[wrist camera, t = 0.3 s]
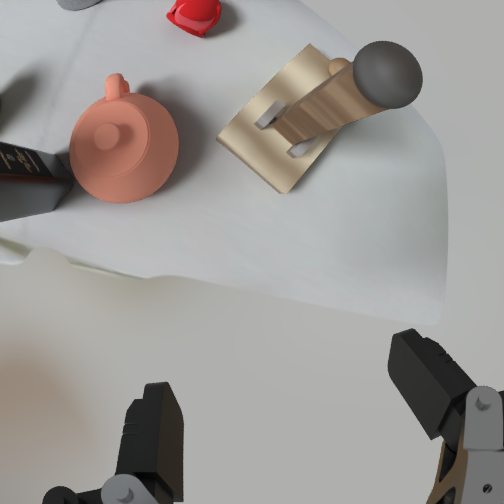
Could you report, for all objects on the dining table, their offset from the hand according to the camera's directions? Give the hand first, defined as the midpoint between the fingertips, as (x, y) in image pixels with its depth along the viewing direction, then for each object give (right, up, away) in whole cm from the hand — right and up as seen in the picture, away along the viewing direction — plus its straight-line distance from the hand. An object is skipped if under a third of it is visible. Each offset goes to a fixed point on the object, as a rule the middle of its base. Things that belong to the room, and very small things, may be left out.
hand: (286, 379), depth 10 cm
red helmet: (-8, +34, +21) cm, 41 cm away
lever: (+3, +17, +20) cm, 27 cm away
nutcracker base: (+4, +21, +26) cm, 34 cm away
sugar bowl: (-16, +17, +23) cm, 32 cm away
